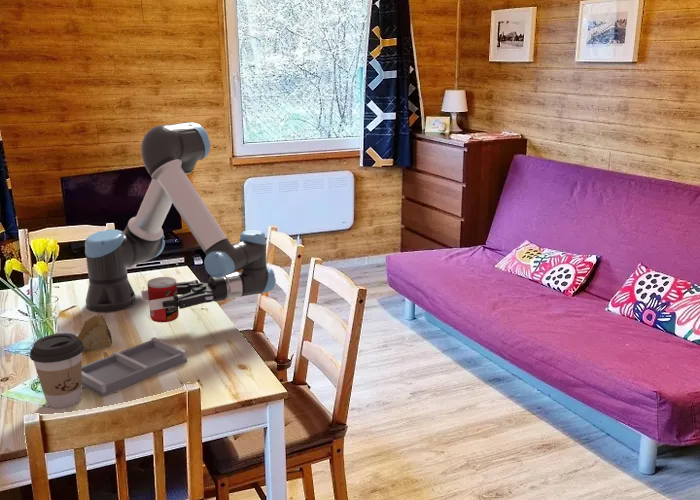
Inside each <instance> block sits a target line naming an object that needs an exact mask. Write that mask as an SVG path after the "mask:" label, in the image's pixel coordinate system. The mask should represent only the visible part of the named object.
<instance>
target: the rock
mask: <svg viewBox="0 0 700 500" xmlns="http://www.w3.org/2000/svg"><path fill="white" fill-rule="evenodd" d="M76 336H77V337H78V339H79V340H81V341H82V342H83V346H84V350H83V351H82V354H86V353H89V352H94V351H98V350H102V349H105V348H108V347H111V345H112V344H113V337H112V333H111V331H110V328H109V325H108V324H107V321H106V318H105V317H104V315H93V316H91V318H89V319H87V320H85V321H84V322H83V325H82V327H81V329H80V331H79V333H78V335H76Z"/></svg>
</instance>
